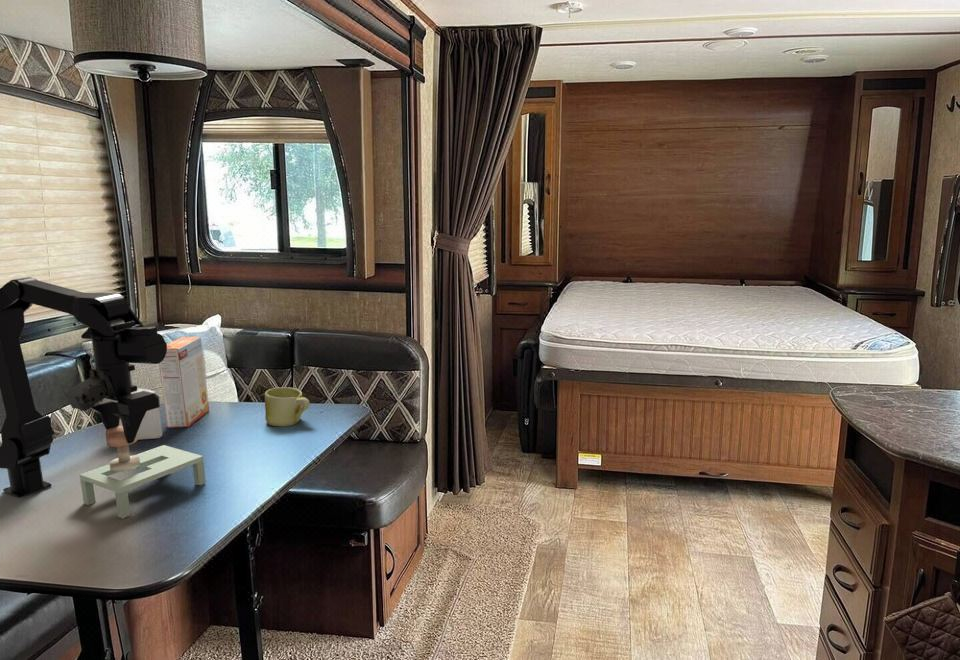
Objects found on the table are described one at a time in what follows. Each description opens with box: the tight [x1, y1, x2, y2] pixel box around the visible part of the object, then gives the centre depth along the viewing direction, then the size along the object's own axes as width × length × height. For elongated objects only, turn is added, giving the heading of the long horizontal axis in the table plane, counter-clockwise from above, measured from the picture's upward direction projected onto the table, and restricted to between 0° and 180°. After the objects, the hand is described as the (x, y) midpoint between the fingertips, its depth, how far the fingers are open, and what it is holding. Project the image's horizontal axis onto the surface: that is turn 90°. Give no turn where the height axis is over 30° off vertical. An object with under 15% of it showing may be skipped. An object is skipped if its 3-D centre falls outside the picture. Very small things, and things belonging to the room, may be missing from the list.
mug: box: [264, 386, 310, 427], centre depth 183 cm, size 12×10×10 cm
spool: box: [104, 426, 140, 473], centre depth 137 cm, size 5×5×8 cm
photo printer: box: [119, 388, 163, 441], centre depth 173 cm, size 10×4×12 cm, turn 96°
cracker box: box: [158, 336, 210, 429], centre depth 186 cm, size 14×6×21 cm, turn 178°
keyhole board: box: [79, 444, 207, 519], centre depth 142 cm, size 13×18×6 cm
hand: (122, 440), depth 137 cm, fingers closed on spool, 5 cm apart
